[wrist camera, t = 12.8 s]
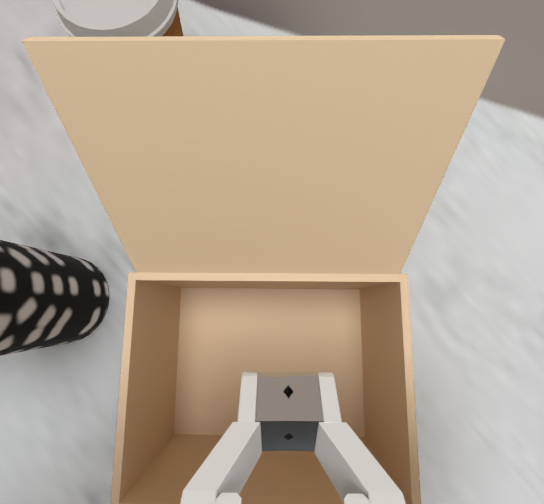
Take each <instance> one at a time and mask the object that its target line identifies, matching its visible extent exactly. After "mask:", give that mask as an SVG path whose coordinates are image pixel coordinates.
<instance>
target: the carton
mask: <svg viewBox="0 0 544 504" xmlns="http://www.w3.org/2000/svg"><path fill="white" fill-rule="evenodd" d="M243 372H282V373H287V372H332V373H333V375H334V378H335V384H336V390H337V396H338V402H339V408H340V414H341V420H342V422H347V424H348V425H349V426H350V427H351V429H352V430H353V431H354V432H355V434H356V435H357V436H358V437H359V439H360V440H361V441H362V442H363V444H364V445H365V446H366V447H367V449H368V450H369V451H370V453H371V454H372V455H373V456H374V458H375V459H376V460H377V461H378V463H379V464H380V465H381V466H382V468H383V469H384V470H385V471H386V473H387V474H388V475H389V476H390V478H391V479H392V480H393V481H394V483H395V484H396V485H397V487H398V488H399V489H400V490H401V492H402V493H403V496H404V500H405V504H421V497H420V480H419V462H418V445H417V428H416V410H415V393H414V376H413V359H412V341H411V324H410V307H409V290H408V274H289V273H144V272H129V274H128V286H127V299H126V312H125V325H124V337H123V350H122V363H121V376H120V389H119V401H118V414H117V427H116V440H115V453H114V465H113V478H112V491H111V504H180V503H181V498H182V493H183V490H184V488H185V487H186V486H187V484H188V483H189V481H190V480H191V479H192V477H193V476H194V475H195V473H196V472H197V470H198V469H199V468H200V466H201V465H202V464H203V462H204V461H205V459H206V458H207V457H208V455H209V454H210V452H211V451H212V450H213V448H214V447H215V446H216V444H217V443H218V441H219V440H220V439H221V437H222V436H223V434H224V433H225V432H226V430H227V429H228V428H229V426H230V425H231V423H232V422H237V419H238V409H239V398H240V388H241V378H242V374H243ZM239 496H240V497H241V498H242V504H343V501H342V499H341V497H340V495H339V494H338V492H337V490H336V489H335V487H334V485H333V484H332V482H331V480H330V479H329V477H328V475H327V474H326V472H325V470H324V468H323V467H322V465H321V463H320V462H319V460H318V458H317V457H316V455H315V453H314V452H312V451H262V454H261V456H260V458H259V459H258V461H257V463H256V465H255V467H254V469H253V470H252V472H251V474H250V476H249V478H248V480H247V481H246V483H245V485H244V487H243V489H242V491H241V492H240V494H239Z"/></svg>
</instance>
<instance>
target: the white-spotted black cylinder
mask: <svg viewBox="0 0 544 504" xmlns="http://www.w3.org/2000/svg"><path fill="white" fill-rule="evenodd" d="M108 302H109V289H108V285H107V282H106V280H105V278H104V276H103V274H102V273H101V271H100V270H99V269H98V268H97V267H96V266H94V265H93V264H92V263H90V262H88V261H86V260H83V259H79V258H75V257H71V256H67V255H62V254H58V253H54V252H49V251H45V250H41V249H37V248H32V247H28V246H24V245H19V244H15V243H11V242H6V241H2V240H0V355H6V354H11V353H16V352H22V351H27V350H33V349H38V348H43V347H49V346H54V345H60V344H65V343H70V342H74V341H77V340H80V339H82V338H84V337H86V336H87V335H89V334H90V333H91V332H92V331H94V330H95V329H96V328H97V326H98V325H99V324H100V323H101V321H102V319H103V317H104V316H105V314H106V311H107V307H108Z"/></svg>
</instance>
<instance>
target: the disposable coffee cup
mask: <svg viewBox="0 0 544 504" xmlns="http://www.w3.org/2000/svg"><path fill="white" fill-rule="evenodd" d="M52 2H53V4H54V9H55V13H56V16H57V19H58V22H59V23H60V25H61V26H62V27H63V29H64V30H65V32H66V33H67V34H68V35H69V36H70V37H161V36H183V32H182V27H181V23H180V17H179V12H178V7H177V5H178V0H52Z"/></svg>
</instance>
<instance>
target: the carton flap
mask: <svg viewBox="0 0 544 504" xmlns="http://www.w3.org/2000/svg"><path fill="white" fill-rule="evenodd" d="M504 41H505V39H504V38H502V37H501V36H499V35H451V36H450V35H449V36H448V35H447V36H446V35H437V36H435V35H432V36H431V35H428V36H427V35H426V36H161V37H28V38H26V39H24V40H22V43H23V45H24V47H25V49H26V51H27V53H28V55H29V57H30V59H31V61H32V63H33V65H34V67H35V69H36V71H37V73H38V75H39V77H40V79H41V81H42V83H43V85H44V87H45V89H46V91H47V93H48V95H49V97H50V100H51V102H52V104H53V106H54V108H55V110H56V112H57V114H58V116H59V118H60V120H61V122H62V124H63V126H64V128H65V130H66V132H67V134H68V136H69V138H70V140H71V142H72V144H73V146H74V148H75V150H76V152H77V154H78V156H79V158H80V160H81V162H82V164H83V166H84V168H85V170H86V172H87V174H88V176H89V178H90V180H91V182H92V184H93V186H94V188H95V190H96V192H97V194H98V196H99V198H100V200H101V202H102V204H103V206H104V208H105V210H106V212H107V214H108V216H109V218H110V220H111V222H112V225H113V227H114V229H115V231H116V233H117V235H118V237H119V239H120V241H121V243H122V245H123V247H124V249H125V251H126V253H127V255H128V257H129V259H130V261H131V263H132V265H133V267H134V269H135V271H136V272H144V273H289V274H400V273H401V270H402V268H403V266H404V264H405V262H406V259H407V257H408V255H409V253H410V250H411V248H412V246H413V244H414V242H415V239H416V237H417V235H418V233H419V230H420V228H421V226H422V224H423V222H424V219H425V217H426V215H427V213H428V210H429V208H430V206H431V204H432V201H433V199H434V197H435V195H436V193H437V190H438V188H439V186H440V184H441V181H442V179H443V177H444V175H445V173H446V170H447V168H448V166H449V164H450V161H451V159H452V157H453V155H454V153H455V150H456V148H457V146H458V144H459V141H460V139H461V137H462V135H463V132H464V130H465V128H466V126H467V124H468V121H469V119H470V117H471V115H472V112H473V110H474V108H475V106H476V104H477V101H478V99H479V97H480V95H481V92H482V90H483V88H484V86H485V83H486V81H487V79H488V77H489V75H490V72H491V70H492V68H493V66H494V63H495V61H496V59H497V57H498V55H499V52H500V50H501V48H502V46H503V43H504Z"/></svg>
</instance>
